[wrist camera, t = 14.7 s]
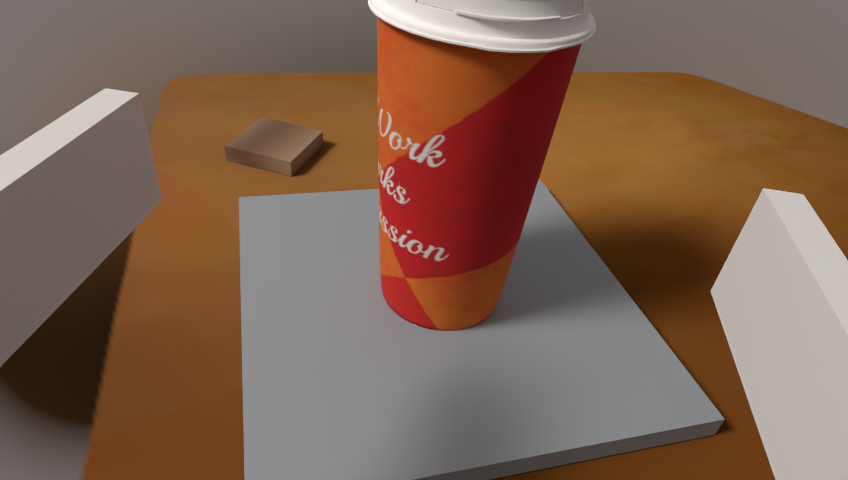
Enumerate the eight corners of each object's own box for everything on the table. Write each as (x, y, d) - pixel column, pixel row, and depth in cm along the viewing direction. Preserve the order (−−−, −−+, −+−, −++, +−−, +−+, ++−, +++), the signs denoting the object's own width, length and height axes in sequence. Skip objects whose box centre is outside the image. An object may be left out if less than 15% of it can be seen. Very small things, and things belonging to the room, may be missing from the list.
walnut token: (322, 151, 40) (322, 131, 39) (291, 183, 36) (290, 162, 35) (263, 136, 41) (261, 117, 40) (227, 166, 37) (224, 145, 36)
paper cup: (354, 239, 30) (363, -65, 21) (499, 238, 31) (562, -49, 23) (361, 356, 24) (378, -6, 15) (542, 349, 25) (650, 12, 16)
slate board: (536, 192, 37) (539, 179, 36) (714, 434, 23) (724, 419, 23) (240, 212, 32) (238, 197, 32) (248, 527, 19) (245, 511, 18)
